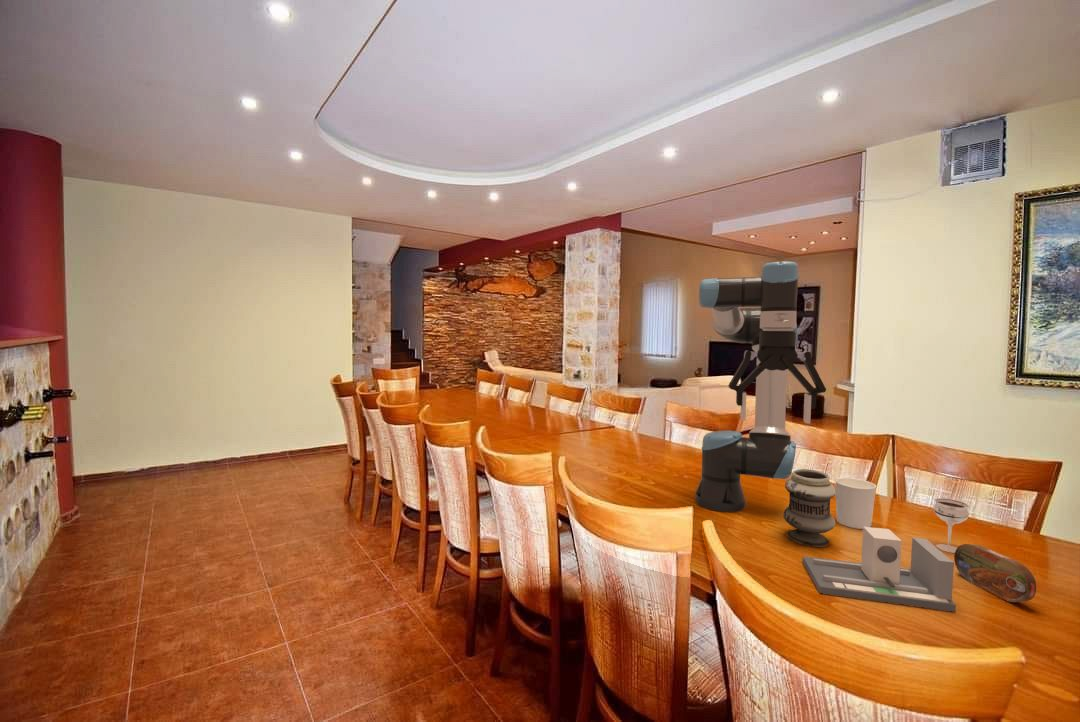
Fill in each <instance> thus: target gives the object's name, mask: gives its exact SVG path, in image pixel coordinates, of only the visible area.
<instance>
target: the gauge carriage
mask: <svg viewBox="0 0 1080 722" xmlns="http://www.w3.org/2000/svg"><path fill="white" fill-rule="evenodd" d="M861 540H862V543H861V544H862V545H861V562H860V563H861V570H862V571H863V573H864V574H865V575H866V576H867V578H868V579H869V580H870V581H876V582H884V583H888V584H889V585H890V586H891V587H895V586H894V584H899V580H900V568H901V561H902V559H901V558H902V544H903V543H902V540H901V539H900V538H899V537H898V536H897V535H896V534H895V533H894V532H893V531H892V530H891V529H889V528H882V527H881V528H880V527H872V526H871V527H863V529H862V539H861Z"/></svg>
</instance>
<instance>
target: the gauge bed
mask: <svg viewBox="0 0 1080 722" xmlns="http://www.w3.org/2000/svg"><path fill="white" fill-rule="evenodd" d="M910 556H911V557H910V568H903V567H900V580H899V584H894V586H895V587H891V586H890V585H889V584H888V583H884V582H876V581H870V580H869V579H868V578H867V576H866V575H865V574H864V573H863V571H862V570H861V562H854V561H847V560H846V561H845V560H838V559H829V558H823V557H822V558H820V557H813V556H804V555H802V558H801V559H802V564H803V566H804V567H805V570H806V572H807V573H808V574H809V576H810V578H812V579H811V580H812V582H813V584H814V585H816V586H815V588H816V589H817V591H818V593H819V592H820V593H823V594H822V595H827V594H829V595H830V596H834V595H836V597H842V596H843V597H844V598H849V597H852V598H851V599H856V598H860V599H859V600H863V599H868V600H867V601H871V600H873V601H872V602H878V601H880V602H879V603H885V602H888V603H887V604H892V603H897V604H896V605H900V604H905V605H904V606H907V605H913V606H912V607H914V606H919V607H918V608H921V607H926V608H925V609H929V608H931V609H930V610H936V609H937V610H938V611H945V612H950V611H952V612H953V613H956V612H957V610H956V608H957V604H956V603H955V602H954V601H952V600H953V599H952V598H953V587H954V585H953V584H954V567H955V561H953V560H952V559H950V557H948V556H947V555H946V554H945V553H943V552H942V551H941V549H939V548H937V547H936V545H934V544H933V543H931V542H930V541H929V540H928V539H926V538H922V537H921V538H920V537H912V539H911V555H910ZM820 593H819V594H820ZM829 595H828V596H829Z"/></svg>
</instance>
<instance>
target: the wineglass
mask: <svg viewBox="0 0 1080 722" xmlns="http://www.w3.org/2000/svg"><path fill="white" fill-rule="evenodd" d="M934 502H935V504H934V506H933V512H934V514H935V515H936V516H937V517H938V518H939V519H940V520H941V521H943V522H945V523H946V525H947V544H943V543H939V544H935V547H936V548H937V549H938V550H940V551H941V550H942V551H943V552H947V553H952V554H955V551H956V549H957V548H958V547H955V546H953V545H951V539H952V530H953V526H955V524H961V523H963V522H965V521H967V520H968V518H969V515H970V513H969V510H968V508H970V506H969V504H967V503H965V502H963V501H959V500H956V499H950V498H942V497H941V498H935V499H934Z"/></svg>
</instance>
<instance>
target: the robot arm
mask: <svg viewBox="0 0 1080 722" xmlns="http://www.w3.org/2000/svg"><path fill="white" fill-rule="evenodd" d="M799 278H800V275H799V265H798V263H796V262H795V261H788V260H787V261H785V260H784V261H774V262H773V261H772V262H767V263H764V264H763V265H762V267H761V275H760V276H747V277H746V276H745V277H720V278H719V277H713V278H706V279H702V280H701V281H700V283H699V289H698V292H699V293H698V300H699V306H700V307H701V308H708V309H711V312H712V317H711V318H712V319H711V325H712V328H713V329H714V331H715V332H716V333H717V334H718V335H719V336H721V337H723V338H724V339H726V340H728V341H732V342H734V343H739V344H751V349H752V350H753V351H751V350H744V352H743V358H742V361H741V363H740V365H739V366H738V368H737V369H736V371H735V373H734V375H733V377H731V380H730V382H729V384H728V388H729V389H730V390H732V391H735V392H736V397H735V398H736V399H735V400H736V401H735V402H736V405H737V406H739V407H740V419H741V420H742V421H746V419H747V418H746V417H747V416H746V414H747V392H746V391H744V390H746V389H747V388H748V387H749V385H750V384H752V383H753V382H754V380H755V402H754V403H755V406H754V410H755V411H754V426H753V428H752V429H751V430H750V431H749V432H748V435H749V436H748V437H743V434H742V432H740V431H738V430H737V431H736V430H735V431H734V430H717V431H716V430H715V431H711V432H708V433H706V434H705V435H704V436H703V438H702V446H701V450H702V451H701V452H702V453H701V478H700V481H699V484H698V487H696V488H697V489H696V492H695V496H694V497H695V498H694V499H695V503H696V504H697V505H699V506H700V507H702V508H705V509H708V510H710V511H711V510H712V511H716V512H723V513H724V512H725V513H734V512H735V513H736V512H740V511H743V510H745V509H746V497H745V493H744V491H743V487H742V485H741V475H745V476H751V477H752V476H753V477H759V478H767V479H773V480H774V479H778V480H788V479H789V478H791V476H792V473H793V468H794V464H795V457H796V449H797V448H796V447H797V443H796V442H795V441H794V440H791V436H792V435H791V434H790V433H789V432H788V431H787V430H786V411H787V410H786V407H787V406H786V403H787V370H788V371H789V372H790V373H791V374H792V375H793V377H794V378H795V380H797V381H798V382H799V384H801V385H802V387H803V388H804V389H805V390H806V391H807V392H808V393H804V395H803V396H804V399H803V402H804V403H803V422H804V423H805V424H809V425H811V418H812V417H811V413H812V409H813V410H815V409H816V407H817V396H818V395H819V394H822V393H826V391H827V388H826V386H825V384H824V382H823V381H822V378H821V377H820V374H819V373H818V371H817V368H816V367H815V364H814V363H813V360H812V353H811V351H807V350H803V351H801V352H797V351H796V347H797V346H796V344H797V343H798V340H799V339H798V338H799V337H798V324H797V310H798V309H797V307H798V305H797V304H798V303H797V302H798V287H799ZM755 358H756V366H755V368H754V369H753V370H752V371H751V372H750V373H749V374H748V375H747V376H746V377H745V378H744V379H743V380H742V381H741V382H740V384H738V383H739V381H740V379H741V378H742V376H743V375H744V373H745V371H746V370H747V368H748V366H749V364H750V363H751V362H750V361H753V360H754V359H755ZM797 359H799V361H800V362H803V364H804V367H805V368H806V371H807V373H808V375H809V377H810V378H811V380H812V382H813V384H814V386H815V387H814V386H812V385H813V384H811V383H810V382H809V381H808V379H807V378H806V377H805V376H804V375H803V373H801V371H800V370H799V369H798V368H797V366H796V365H795V364H794V362H795V361H796V360H797Z"/></svg>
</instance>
